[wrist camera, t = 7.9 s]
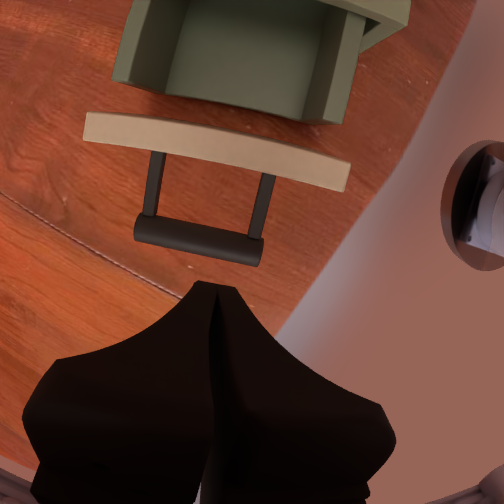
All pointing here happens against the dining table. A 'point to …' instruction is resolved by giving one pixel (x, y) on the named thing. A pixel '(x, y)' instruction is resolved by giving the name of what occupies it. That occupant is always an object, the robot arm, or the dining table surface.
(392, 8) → the cabinet
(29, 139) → the dining table surface
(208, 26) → the drawer
